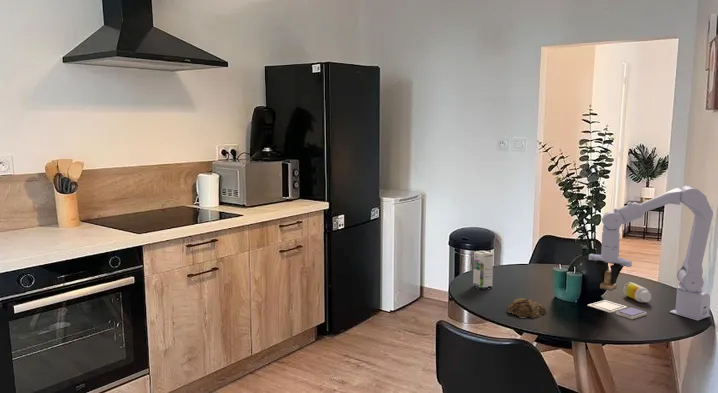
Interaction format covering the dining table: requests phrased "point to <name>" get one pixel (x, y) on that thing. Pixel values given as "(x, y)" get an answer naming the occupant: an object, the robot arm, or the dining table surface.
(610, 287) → the stamp
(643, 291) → the supplement bottle
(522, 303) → the brown speckled mound
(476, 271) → the syrup box
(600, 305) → the print sheet
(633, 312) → the ink pad
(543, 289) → the dining table surface
